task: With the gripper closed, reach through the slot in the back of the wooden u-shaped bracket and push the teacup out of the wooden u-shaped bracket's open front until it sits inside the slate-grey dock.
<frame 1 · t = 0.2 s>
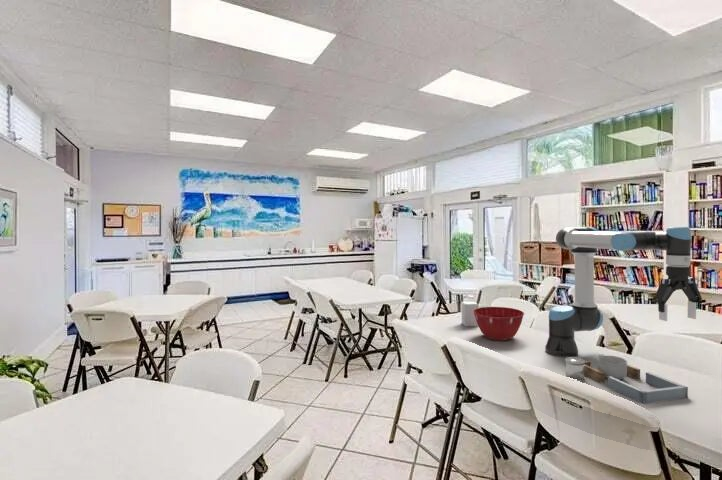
hand: (677, 319, 152), 28 cm above the table, fingers open, 13 cm apart
dock: (644, 391, 151), on the table
wooden u-shaped bracket: (610, 375, 166), on the table
sugar tin: (574, 377, 165), on the table
supplement box: (469, 325, 257), on the table
mixing bowl: (498, 337, 227), on the table
teacup: (610, 376, 166), on the table
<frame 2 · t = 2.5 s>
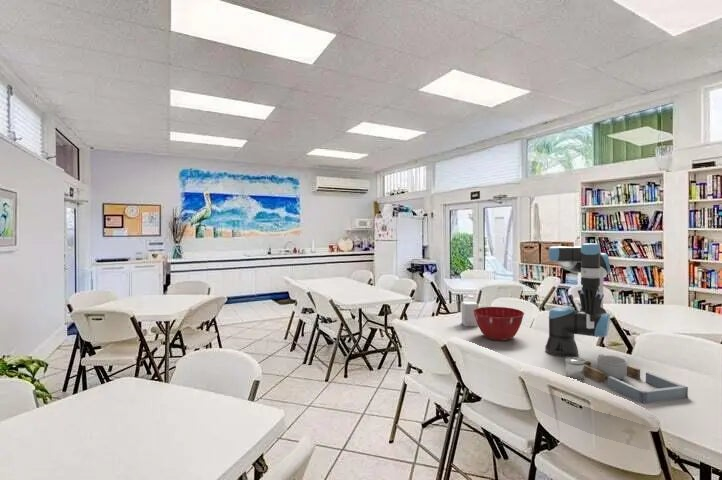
hand: (590, 328, 176), 18 cm above the table, fingers closed
nothing on the table moved.
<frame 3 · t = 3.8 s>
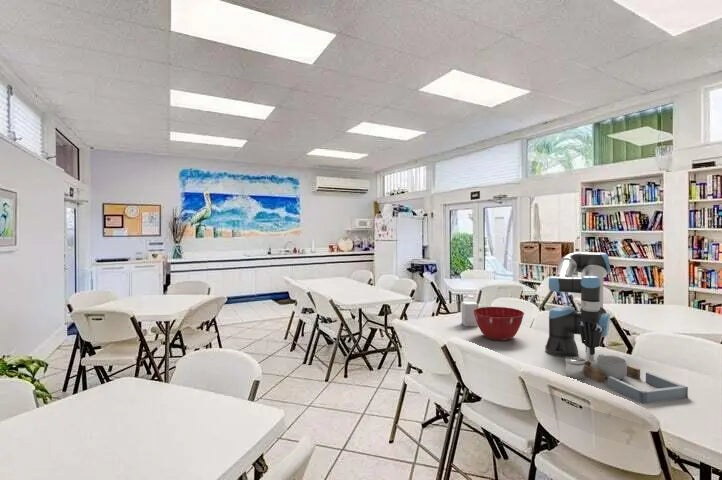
hand: (590, 360, 177), 3 cm above the table, fingers closed
nothing on the table moved.
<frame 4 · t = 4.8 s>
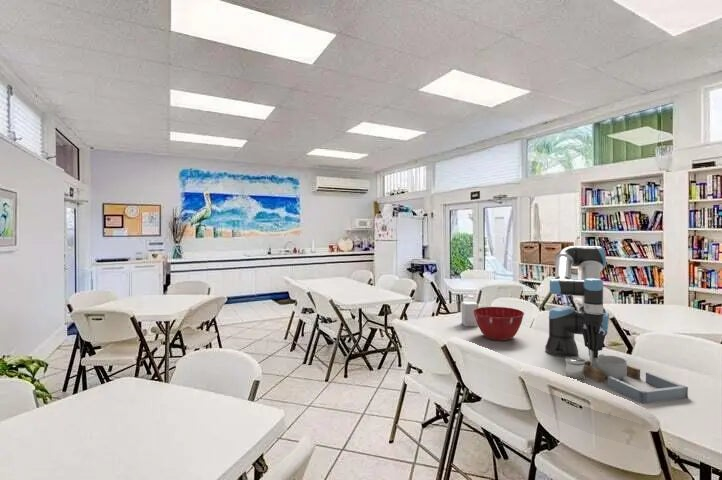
hand: (593, 364, 175), 2 cm above the table, fingers closed
teacup: (610, 376, 166), on the table, touching gripper
everything else where it was.
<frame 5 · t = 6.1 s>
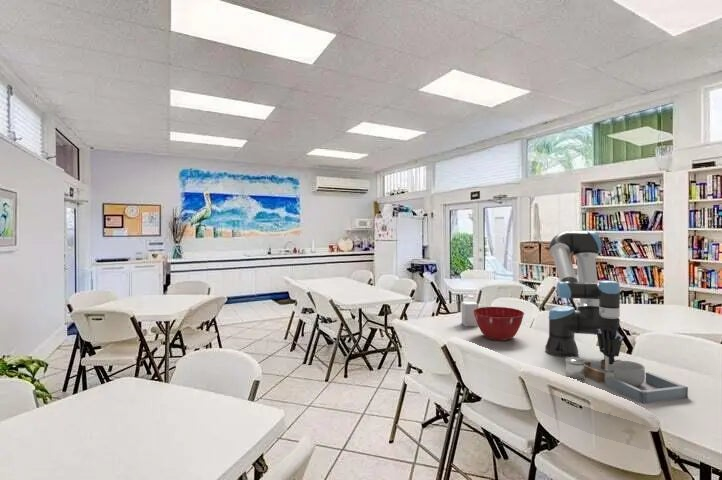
hand: (609, 370, 166), 2 cm above the table, fingers closed
teacup: (627, 382, 159), on the table, touching gripper
everything else where it was.
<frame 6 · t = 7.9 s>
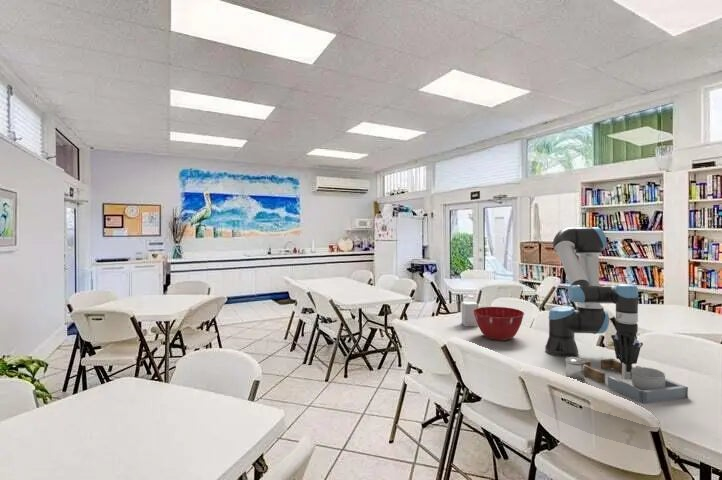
hand: (626, 378, 158), 2 cm above the table, fingers closed
teacup: (646, 390, 152), on the table, touching gripper
everything else where it was.
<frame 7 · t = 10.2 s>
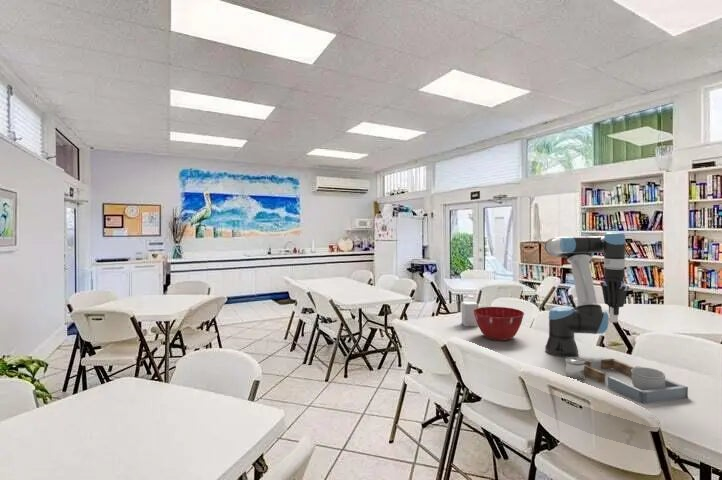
hand: (613, 321, 168), 23 cm above the table, fingers closed
teacup: (646, 390, 152), on the table
everything else where it was.
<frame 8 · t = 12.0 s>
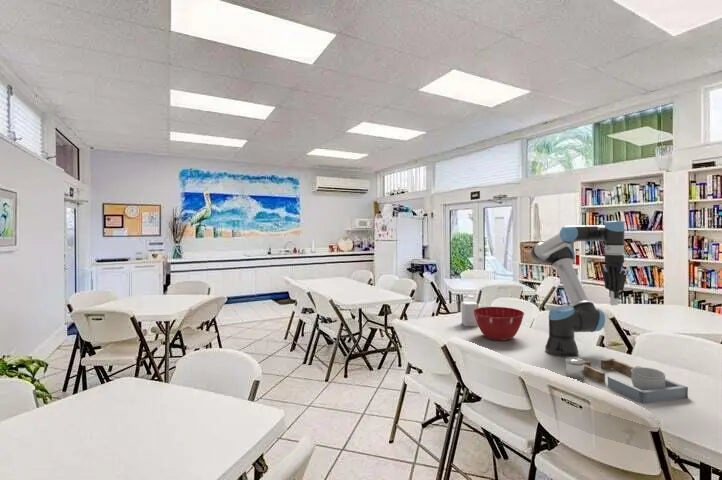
hand: (614, 304, 178), 28 cm above the table, fingers closed
nothing on the table moved.
at the end: teacup inside the target area on the dock (2.4 cm from its centre), point 0.0 cm above the dock's base; teacup moved 15.4 cm from its start; teacup tilted 0° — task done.
